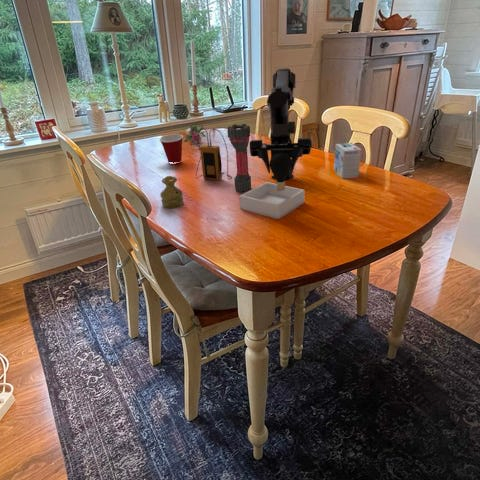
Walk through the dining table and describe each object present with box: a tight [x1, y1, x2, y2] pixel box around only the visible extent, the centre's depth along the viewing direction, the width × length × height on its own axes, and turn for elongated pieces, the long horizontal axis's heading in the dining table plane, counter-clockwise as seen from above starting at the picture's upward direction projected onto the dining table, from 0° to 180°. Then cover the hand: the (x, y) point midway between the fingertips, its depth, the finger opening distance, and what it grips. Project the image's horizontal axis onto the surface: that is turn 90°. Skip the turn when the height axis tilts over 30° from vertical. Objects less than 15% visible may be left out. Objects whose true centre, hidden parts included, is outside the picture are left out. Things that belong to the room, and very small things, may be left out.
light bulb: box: [269, 153, 292, 191], centre depth 112 cm, size 7×7×12 cm
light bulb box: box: [333, 142, 362, 179], centre depth 139 cm, size 11×7×11 cm, turn 5°
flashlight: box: [227, 123, 252, 193], centre depth 127 cm, size 8×8×23 cm
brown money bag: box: [159, 175, 184, 209], centre depth 122 cm, size 7×7×10 cm
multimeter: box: [195, 127, 233, 181], centre depth 143 cm, size 15×10×20 cm
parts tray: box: [239, 181, 306, 220], centre depth 117 cm, size 15×15×4 cm
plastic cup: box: [158, 133, 184, 163], centre depth 165 cm, size 11×11×12 cm
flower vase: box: [183, 125, 207, 146], centre depth 197 cm, size 12×12×35 cm
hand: (280, 172), depth 110 cm, fingers closed on light bulb, 6 cm apart
